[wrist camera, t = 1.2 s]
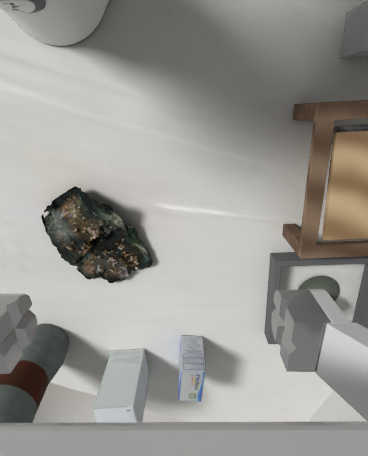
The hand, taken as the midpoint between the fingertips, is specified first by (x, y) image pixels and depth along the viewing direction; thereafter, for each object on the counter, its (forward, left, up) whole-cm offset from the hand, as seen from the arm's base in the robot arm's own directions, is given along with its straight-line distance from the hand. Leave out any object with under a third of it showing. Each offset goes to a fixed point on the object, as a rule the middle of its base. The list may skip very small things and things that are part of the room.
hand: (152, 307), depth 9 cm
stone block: (-14, +25, -37) cm, 47 cm away
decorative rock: (+14, -15, -37) cm, 42 cm away
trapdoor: (+4, +26, -32) cm, 41 cm away
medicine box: (+40, 0, -37) cm, 54 cm away
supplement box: (+43, -13, -37) cm, 58 cm away
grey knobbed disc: (+27, +24, -37) cm, 51 cm away
